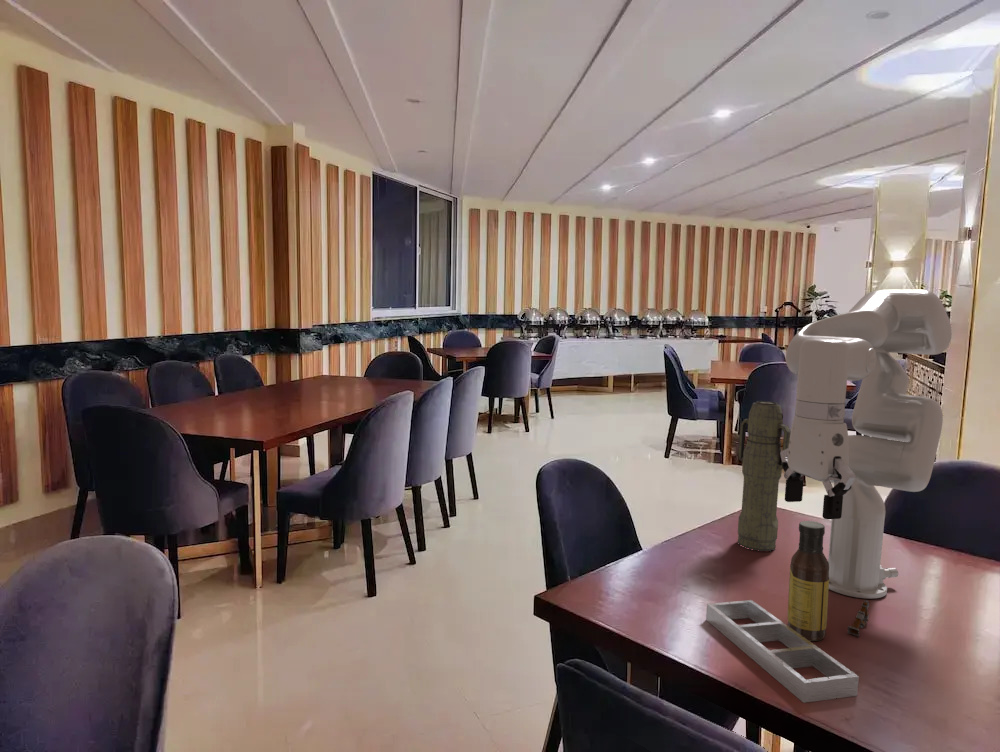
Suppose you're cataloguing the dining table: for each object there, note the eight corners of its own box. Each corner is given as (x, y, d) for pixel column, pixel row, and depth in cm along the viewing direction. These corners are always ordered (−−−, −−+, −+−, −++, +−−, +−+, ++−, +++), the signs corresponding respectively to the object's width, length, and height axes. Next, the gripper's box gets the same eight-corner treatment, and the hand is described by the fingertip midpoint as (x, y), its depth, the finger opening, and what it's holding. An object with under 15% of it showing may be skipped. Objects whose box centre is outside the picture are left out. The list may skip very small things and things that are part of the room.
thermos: (775, 556, 153) (787, 407, 150) (725, 543, 161) (735, 401, 157) (787, 547, 160) (799, 403, 156) (739, 535, 167) (748, 398, 164)
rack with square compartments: (750, 615, 122) (751, 599, 122) (857, 695, 97) (858, 676, 97) (706, 619, 120) (707, 603, 120) (803, 702, 95) (805, 683, 95)
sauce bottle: (806, 623, 120) (815, 516, 118) (833, 640, 114) (843, 528, 112) (777, 627, 118) (785, 519, 116) (803, 644, 112) (812, 530, 110)
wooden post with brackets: (873, 617, 121) (872, 599, 120) (859, 648, 116) (858, 629, 115) (862, 614, 123) (861, 595, 121) (848, 644, 118) (847, 625, 116)
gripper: (877, 420, 105) (868, 524, 107) (804, 403, 122) (797, 494, 123) (836, 420, 103) (828, 527, 105) (768, 404, 120) (762, 496, 122)
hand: (811, 509), depth 114 cm, fingers open, 9 cm apart
